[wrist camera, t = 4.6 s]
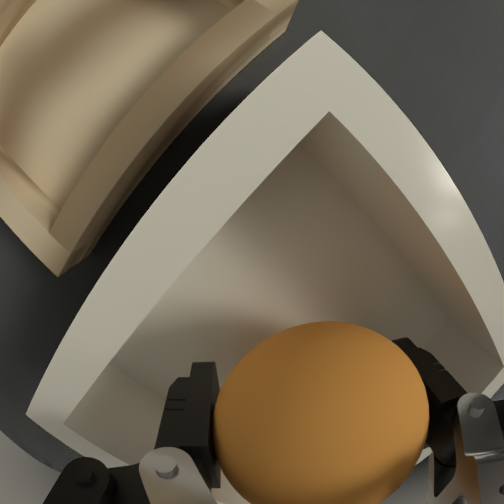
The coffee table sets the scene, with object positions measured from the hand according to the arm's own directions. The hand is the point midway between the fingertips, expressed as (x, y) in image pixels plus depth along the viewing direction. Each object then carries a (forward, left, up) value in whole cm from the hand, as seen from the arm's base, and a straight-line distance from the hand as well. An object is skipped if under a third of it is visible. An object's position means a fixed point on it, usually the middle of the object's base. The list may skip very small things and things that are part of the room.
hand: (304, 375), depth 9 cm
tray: (+14, -3, -2) cm, 14 cm away
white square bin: (0, 0, -2) cm, 2 cm away
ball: (0, 0, +2) cm, 2 cm away
